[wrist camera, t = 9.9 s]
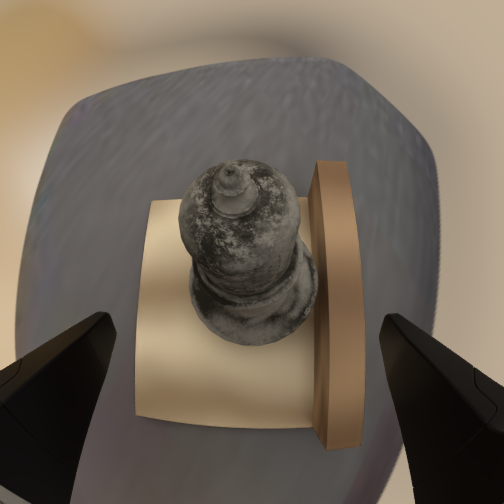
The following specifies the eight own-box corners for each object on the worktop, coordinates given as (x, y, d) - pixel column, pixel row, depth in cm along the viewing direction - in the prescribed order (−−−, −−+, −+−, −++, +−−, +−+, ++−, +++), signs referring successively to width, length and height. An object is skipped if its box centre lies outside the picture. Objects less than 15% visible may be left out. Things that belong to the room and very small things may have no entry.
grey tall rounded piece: (327, 284, 16) (435, 157, 5) (264, 366, 15) (256, 430, 3) (247, 226, 17) (219, 49, 6) (184, 301, 16) (40, 208, 5)
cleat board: (335, 419, 14) (361, 445, 10) (143, 411, 15) (102, 429, 10) (328, 206, 19) (345, 161, 14) (157, 208, 20) (128, 168, 15)
